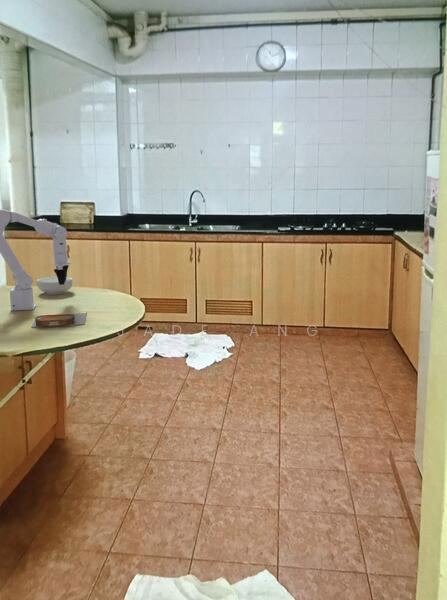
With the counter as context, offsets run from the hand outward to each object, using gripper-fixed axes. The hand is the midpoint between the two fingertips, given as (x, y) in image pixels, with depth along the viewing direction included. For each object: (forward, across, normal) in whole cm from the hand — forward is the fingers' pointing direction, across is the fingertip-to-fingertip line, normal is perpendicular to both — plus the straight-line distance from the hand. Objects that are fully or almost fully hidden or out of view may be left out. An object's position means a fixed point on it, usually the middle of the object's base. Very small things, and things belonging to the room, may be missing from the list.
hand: (62, 282), depth 269 cm
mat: (+9, -32, -1) cm, 33 cm away
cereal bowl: (+10, +24, +6) cm, 27 cm away
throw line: (+9, -21, -1) cm, 23 cm away
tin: (+8, -33, 0) cm, 34 cm away
